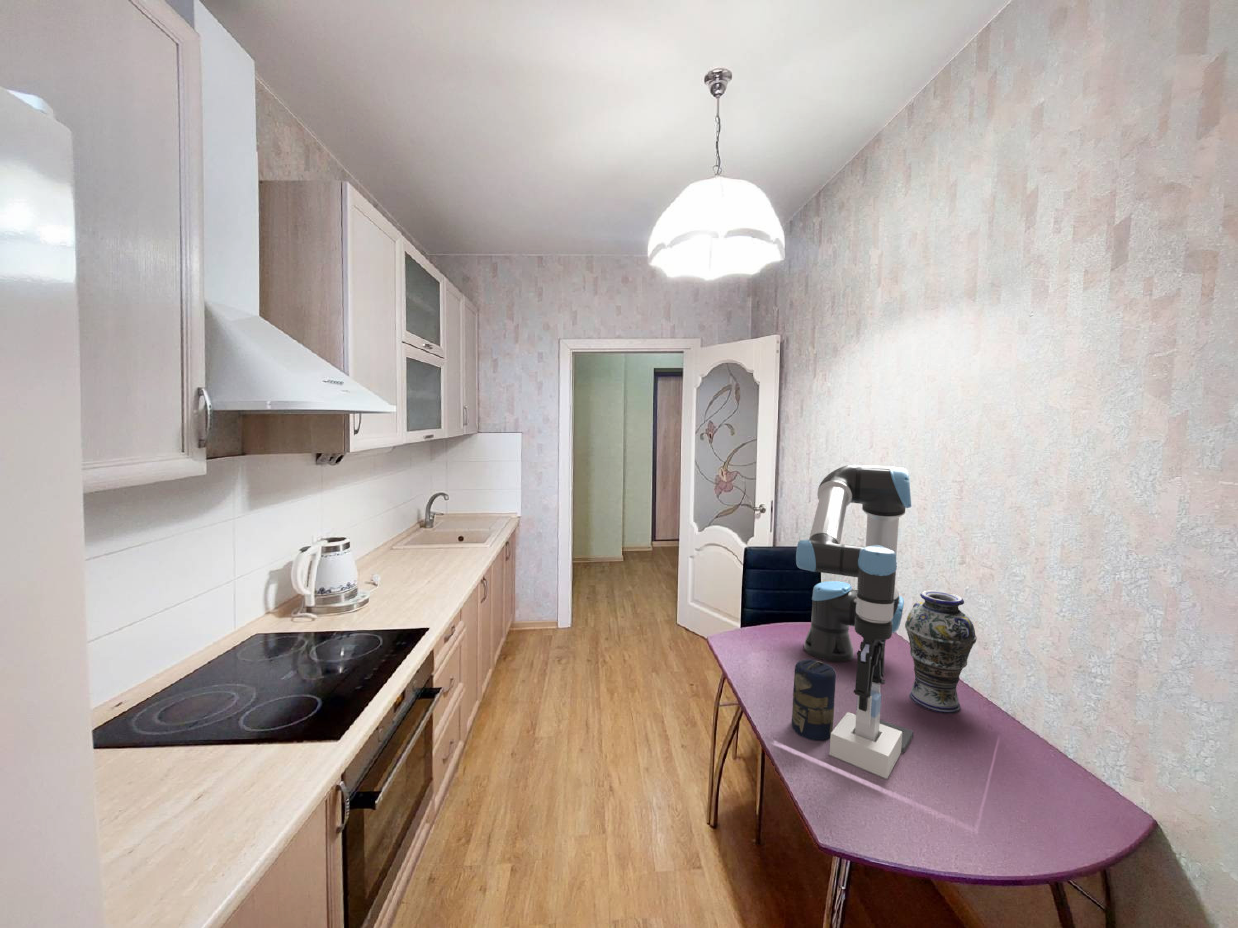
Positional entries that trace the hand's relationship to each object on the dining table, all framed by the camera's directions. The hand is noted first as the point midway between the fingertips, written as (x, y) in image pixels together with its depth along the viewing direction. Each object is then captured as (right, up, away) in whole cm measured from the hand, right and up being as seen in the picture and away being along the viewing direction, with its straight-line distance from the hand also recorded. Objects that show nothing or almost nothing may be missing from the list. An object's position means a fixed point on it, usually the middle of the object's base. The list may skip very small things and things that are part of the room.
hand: (867, 715), depth 119 cm
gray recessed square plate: (+9, -9, +8) cm, 15 cm away
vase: (+31, -9, +26) cm, 41 cm away
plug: (0, -9, +1) cm, 9 cm away
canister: (-9, -9, +10) cm, 16 cm away
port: (0, -10, +1) cm, 10 cm away
